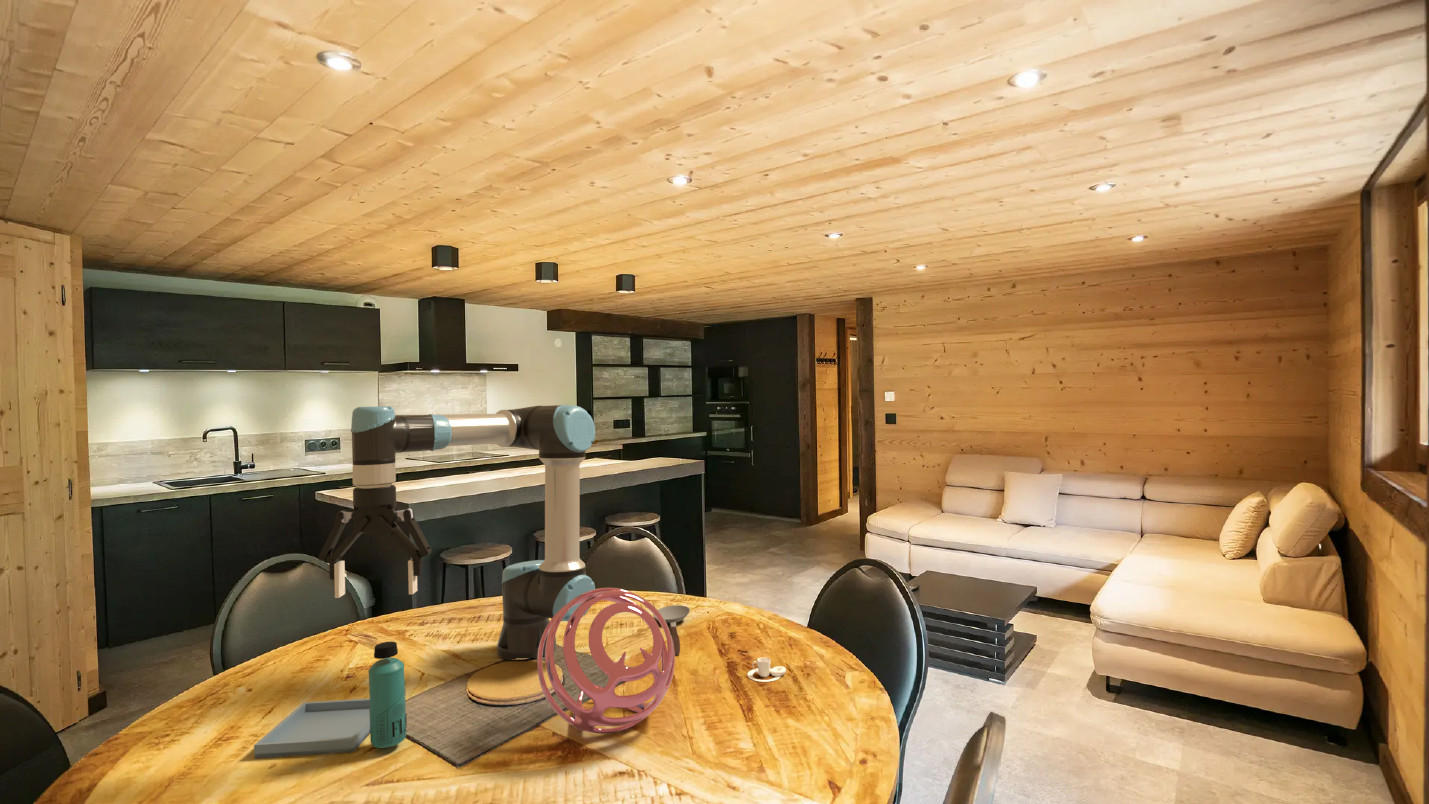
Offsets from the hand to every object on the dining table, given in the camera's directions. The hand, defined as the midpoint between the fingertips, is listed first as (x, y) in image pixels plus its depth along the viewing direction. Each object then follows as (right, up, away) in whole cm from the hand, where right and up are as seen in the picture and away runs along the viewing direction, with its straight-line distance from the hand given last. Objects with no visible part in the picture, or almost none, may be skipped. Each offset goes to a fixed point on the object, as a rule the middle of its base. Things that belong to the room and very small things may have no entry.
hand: (376, 594), depth 132 cm
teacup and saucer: (+79, -28, +25) cm, 88 cm away
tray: (-12, -29, +5) cm, 32 cm away
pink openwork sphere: (+45, -28, +6) cm, 53 cm away
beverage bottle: (+3, -29, -2) cm, 29 cm away
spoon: (+54, -28, +57) cm, 84 cm away
